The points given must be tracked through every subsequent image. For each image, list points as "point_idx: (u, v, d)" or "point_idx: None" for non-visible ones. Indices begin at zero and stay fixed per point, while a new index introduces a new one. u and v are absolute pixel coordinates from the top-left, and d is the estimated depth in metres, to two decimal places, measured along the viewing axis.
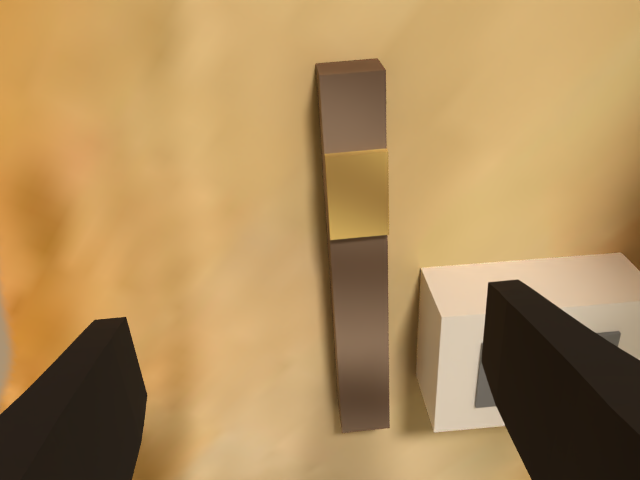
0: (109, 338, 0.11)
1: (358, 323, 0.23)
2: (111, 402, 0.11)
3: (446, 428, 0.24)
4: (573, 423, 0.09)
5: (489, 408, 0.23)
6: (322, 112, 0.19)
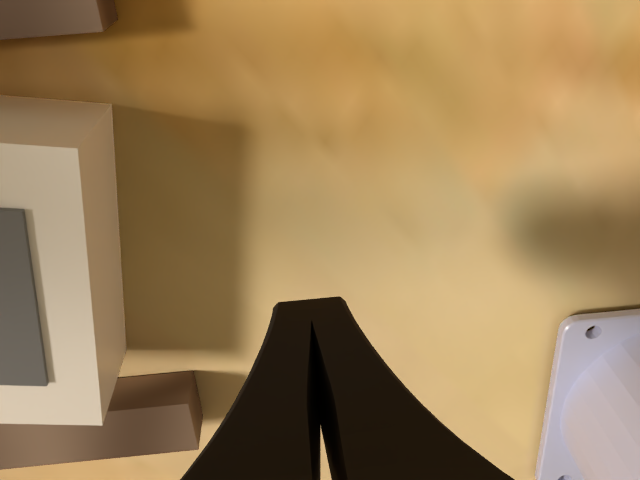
0: (309, 318, 0.11)
1: (12, 448, 0.19)
2: (314, 381, 0.11)
3: (95, 411, 0.16)
4: (337, 448, 0.09)
5: (55, 365, 0.16)
6: None
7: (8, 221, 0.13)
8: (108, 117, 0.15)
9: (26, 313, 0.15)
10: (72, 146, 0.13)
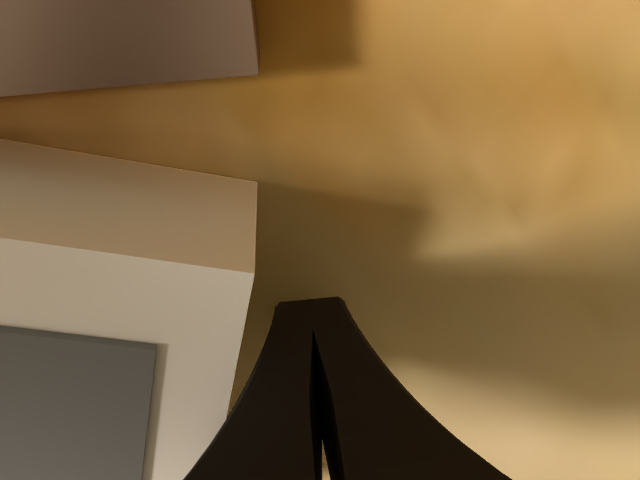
0: (311, 318, 0.11)
1: None
2: (315, 381, 0.11)
3: None
4: (336, 448, 0.09)
5: None
6: None
7: (133, 361, 0.09)
8: None
9: (127, 471, 0.10)
10: (244, 267, 0.09)
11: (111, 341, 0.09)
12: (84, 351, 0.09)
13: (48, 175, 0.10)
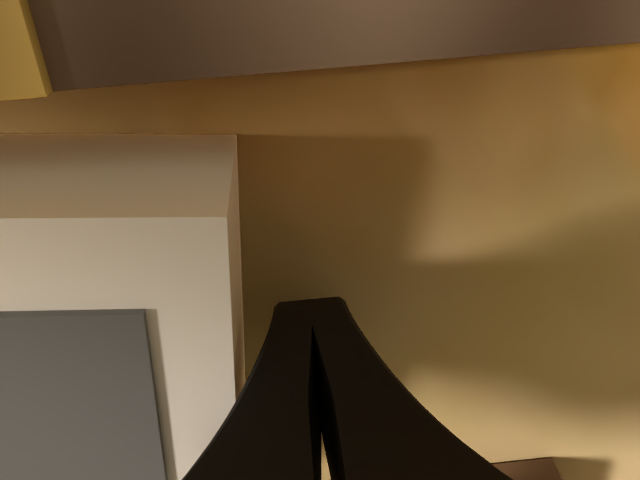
0: (310, 319, 0.11)
1: None
2: (314, 382, 0.11)
3: None
4: (337, 448, 0.09)
5: None
6: None
7: (123, 329, 0.09)
8: (236, 156, 0.11)
9: (146, 447, 0.10)
10: (216, 212, 0.08)
11: (99, 312, 0.09)
12: (72, 325, 0.09)
13: (17, 158, 0.10)
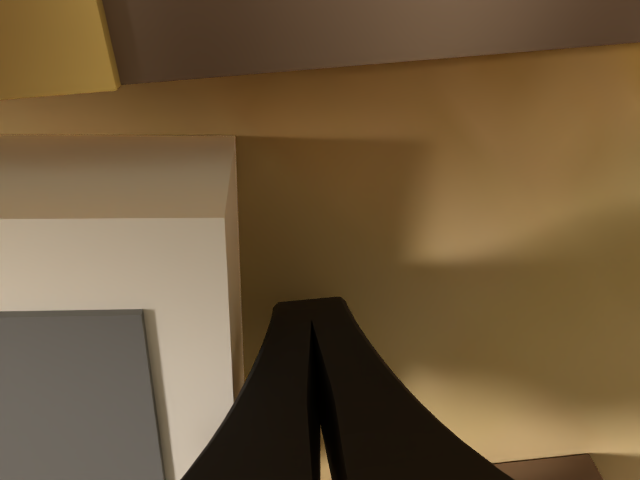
0: (309, 318, 0.11)
1: None
2: (313, 381, 0.11)
3: None
4: (337, 448, 0.09)
5: None
6: None
7: (121, 329, 0.09)
8: (234, 156, 0.11)
9: (144, 447, 0.10)
10: (214, 213, 0.08)
11: (96, 312, 0.09)
12: (70, 326, 0.09)
13: (16, 158, 0.10)
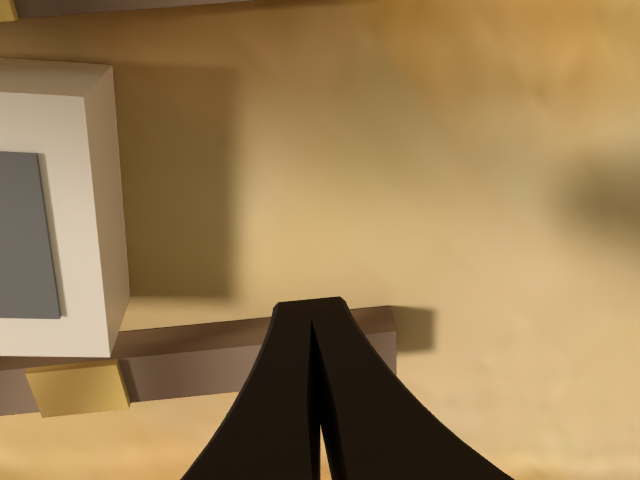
0: (309, 319, 0.11)
1: (236, 372, 0.21)
2: (313, 382, 0.11)
3: (103, 344, 0.18)
4: (337, 448, 0.09)
5: (67, 299, 0.17)
6: (6, 414, 0.22)
7: (24, 164, 0.15)
8: (109, 76, 0.17)
9: (40, 250, 0.16)
10: (78, 94, 0.15)
11: (9, 153, 0.15)
12: None
13: None
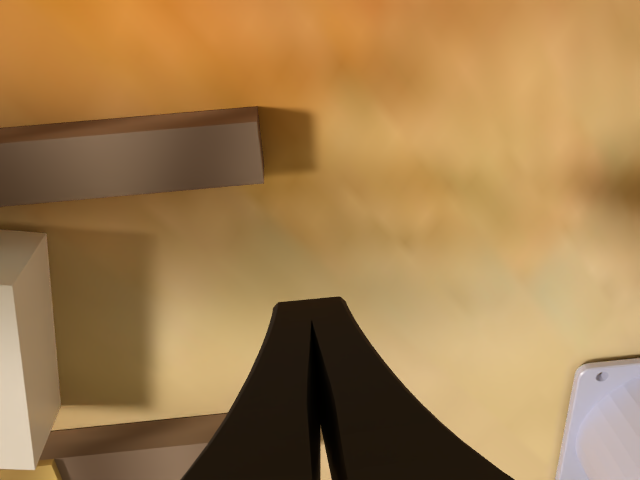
0: (309, 318, 0.11)
1: (157, 468, 0.25)
2: (313, 382, 0.11)
3: (29, 460, 0.22)
4: (338, 448, 0.09)
5: None
6: None
7: None
8: (42, 245, 0.21)
9: None
10: (8, 283, 0.18)
11: None
12: None
13: None
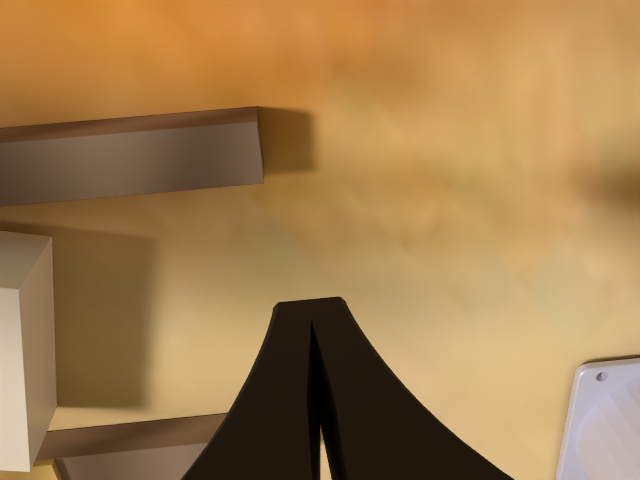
0: (309, 318, 0.11)
1: (157, 468, 0.25)
2: (313, 382, 0.11)
3: (25, 462, 0.22)
4: (338, 448, 0.09)
5: None
6: None
7: None
8: (47, 249, 0.21)
9: None
10: (14, 286, 0.18)
11: None
12: None
13: None
